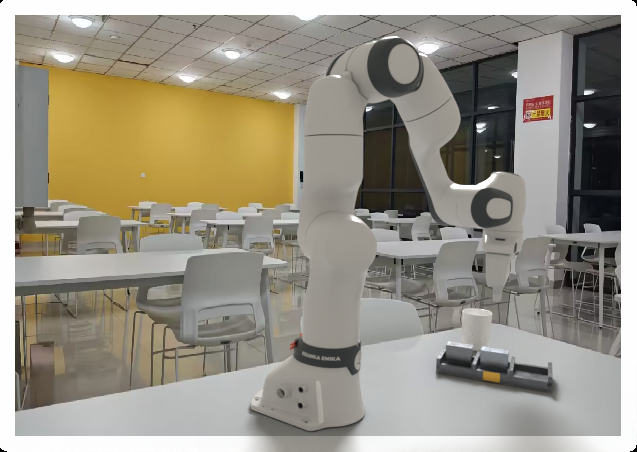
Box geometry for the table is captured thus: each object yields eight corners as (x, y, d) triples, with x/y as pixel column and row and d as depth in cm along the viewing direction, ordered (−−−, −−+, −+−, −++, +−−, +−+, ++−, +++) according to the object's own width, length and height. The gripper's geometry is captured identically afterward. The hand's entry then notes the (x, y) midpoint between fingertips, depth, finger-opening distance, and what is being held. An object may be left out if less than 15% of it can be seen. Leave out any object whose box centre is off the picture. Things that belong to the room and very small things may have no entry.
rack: (435, 373, 121) (436, 348, 120) (443, 359, 130) (444, 336, 130) (551, 393, 111) (553, 366, 110) (551, 377, 120) (552, 352, 120)
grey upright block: (479, 370, 120) (480, 350, 120) (481, 366, 123) (482, 346, 123) (506, 375, 118) (508, 354, 117) (507, 370, 121) (509, 350, 120)
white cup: (494, 352, 137) (496, 316, 136) (464, 351, 137) (466, 315, 136) (485, 343, 144) (487, 308, 144) (457, 342, 145) (458, 307, 144)
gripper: (492, 237, 130) (487, 291, 131) (482, 244, 111) (477, 307, 112) (518, 240, 127) (513, 294, 129) (513, 247, 109) (508, 311, 110)
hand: (496, 300), depth 120 cm, fingers closed
